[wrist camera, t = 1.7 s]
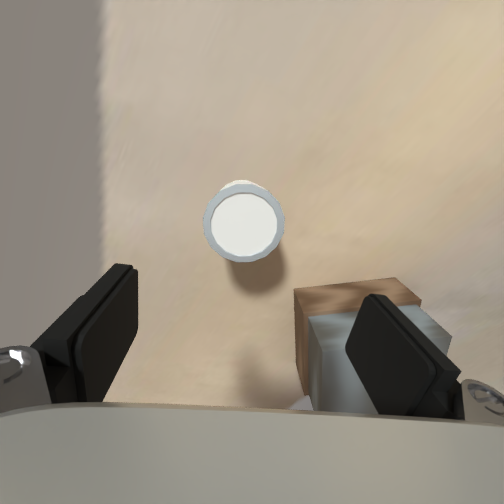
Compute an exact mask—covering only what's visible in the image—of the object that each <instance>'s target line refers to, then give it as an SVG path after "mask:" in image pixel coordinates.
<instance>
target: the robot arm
mask: <svg viewBox="0 0 504 504" xmlns="http://www.w3.org/2000/svg"><path fill="white" fill-rule="evenodd" d="M137 330H138V271H137V269H133V266H132V265H126V264H118V263H116V264H114V265H113V266H112V267H111V268H110V269H109V270H108V271H107V272H106V273H105V274H104V275H103V276H102V277H101V278H100V279H99V280H98V281H97V282H96V283H95V284H94V285H93V286H92V288H90V290H88V292H86V294H85V295H82V296H80V297H79V298H78V299H77V300H76V301H75V302H74V303H73V304H72V305H71V306H70V307H69V308H68V309H67V310H66V311H65V312H64V313H63V314H62V315H61V316H60V317H59V318H58V319H57V320H56V321H55V322H54V323H53V324H52V325H51V326H50V327H49V328H48V329H47V330H46V331H45V332H44V333H43V334H42V335H41V336H40V337H39V338H38V339H37V340H36V341H35V342H34V343H33V344H32V345H31V346H30V347H28V346H9V347H4V348H0V504H504V395H503V394H501V393H500V392H499V391H497V390H496V389H494V388H492V387H490V386H489V385H487V384H484V383H482V382H480V381H476V380H472V379H465V380H464V381H462V383H461V384H460V383H459V382H458V381H457V380H456V379H457V377H458V376H459V374H460V373H461V371H460V369H459V368H458V367H457V366H456V365H455V364H454V363H453V362H452V361H451V360H450V359H449V358H448V357H447V356H446V355H445V354H444V353H443V352H442V351H441V350H440V349H439V348H438V347H437V346H436V345H435V344H434V343H433V342H432V341H431V340H430V339H429V338H428V337H427V336H426V335H425V334H424V333H423V332H422V331H421V330H420V329H419V328H418V327H417V326H416V325H415V324H414V323H413V322H412V321H411V320H410V319H409V318H408V317H407V316H406V315H405V314H404V313H403V312H402V311H401V310H400V309H399V308H398V307H397V306H396V305H395V304H394V303H393V302H392V301H391V300H390V299H389V298H388V297H387V296H385V295H381V294H372V293H371V294H369V295H368V296H366V297H365V298H364V299H363V302H362V304H361V307H360V309H359V312H358V314H357V317H356V319H355V322H354V324H353V327H352V329H351V332H350V334H349V337H348V339H347V342H346V344H345V352H346V354H347V356H348V358H349V360H350V362H351V364H352V365H353V367H354V369H355V371H356V373H357V375H358V377H359V379H360V380H361V382H362V384H363V386H364V388H365V390H366V392H367V394H368V395H369V397H370V399H371V401H372V403H373V405H374V407H375V409H376V410H377V412H378V414H379V415H378V414H361V413H344V412H325V411H306V410H287V409H267V408H247V407H225V406H204V405H182V404H157V403H122V402H102V401H103V399H104V397H105V395H106V393H107V391H108V389H109V388H110V386H111V384H112V382H113V380H114V378H115V376H116V374H117V372H118V370H119V368H120V366H121V364H122V362H123V360H124V358H125V356H126V354H127V352H128V350H129V348H130V346H131V344H132V342H133V340H134V338H135V336H136V334H137Z"/></svg>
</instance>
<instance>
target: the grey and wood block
mask: <svg viewBox="0 0 504 504" xmlns="http://www.w3.org/2000/svg"><path fill="white" fill-rule="evenodd" d="M371 293H372V294H381V295H385V296H387V297H388V298H389V299H390V300H391V301H392V302H393V303H394V304H395V305H396V306H397V307H398V308H399V309H400V310H401V311H402V312H403V313H404V314H405V315H406V316H407V317H408V318H409V319H410V320H411V321H412V322H413V323H414V324H415V325H416V326H417V327H418V328H419V329H420V330H421V331H422V332H423V333H424V334H425V335H426V336H427V337H428V338H429V339H430V340H431V341H432V342H433V343H434V344H435V345H436V346H437V347H438V348H439V349H440V350H441V351H442V352H443V353H444V354H445V355H446V356H447V352H448V349H449V345H450V342H451V338H452V336H451V335H450V334H449V333H448V332H447V331H445V330H444V329H443V328H442V327H441V326H440V325H439V324H438V323H437V322H435V321H434V320H433V319H432V318H431V317H430V316H429V315H428V314H427V313H425V312H424V311H423V310H422V309H421V308H420V305H421V301H422V300H421V299H420V298H419V297H417V296H416V295H415V294H414V293H413V292H412V291H410V290H409V289H408V288H407V287H406V286H404V285H403V284H402V283H401V282H400V281H399V280H397V279H396V278H386V279H377V280H369V281H360V282H351V283H342V284H333V285H324V286H315V287H307V288H298V289H294V312H295V344H296V366H297V369H298V373H299V377H300V380H301V384H302V388H303V391H304V395H309V396H310V399H311V403H312V406H313V410H314V411H325V412H344V413H361V414H378V412H377V410H376V409H375V407H374V405H373V403H372V401H371V399H370V397H369V395H368V394H367V392H366V390H365V388H364V386H363V384H362V382H361V380H360V379H359V377H358V375H357V373H356V371H355V369H354V367H353V365H352V364H351V362H350V360H349V358H348V356H347V354H346V352H345V344H346V342H347V339H348V337H349V334H350V332H351V329H352V327H353V324H354V322H355V319H356V317H357V314H358V312H359V309H360V307H361V304H362V302H363V299H364V298H365V297H366V296H368V295H369V294H371ZM378 415H379V414H378Z"/></svg>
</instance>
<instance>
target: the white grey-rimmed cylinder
mask: <svg viewBox="0 0 504 504" xmlns="http://www.w3.org/2000/svg"><path fill="white" fill-rule="evenodd" d="M284 221H285V217H284V214H283V211H282V209H281V206H280V203H279V202H278V201H277V200H276V199H275V198H274V197H273V196H272V194H271V193H270V192H269V191H267V190H266V189H264V188H262V187H261V186H259V185H257V184H255V183H253V182H250V181H248V180H236V181H234V182H231V183H229V184H227V185H226V186H225V187H224V188H222V189H221V190H220V191H219V192H218V193H217V194H216V195H215V197H214V198H213V199H212V200H211V201H210V202H209V203H208V205H207V208H206V211H205V214H204V216H203V227H204V235H205V237H206V239H207V241H208V243H209V244H210V246H211V248H212V249H214V250H215V251H216V252H217V253H218V254H219V255H221V256H222V257H223V258H226V259H229V260H232V261H235V262H253V261H256V260H258V259H261V258H263V257H266V256H267V255H268V254H269V253H270V252H271V251H272V250H274V249H275V248H276V247H277V245H278V243H279V241H280V239H281V237H282V235H283V233H284Z"/></svg>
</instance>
